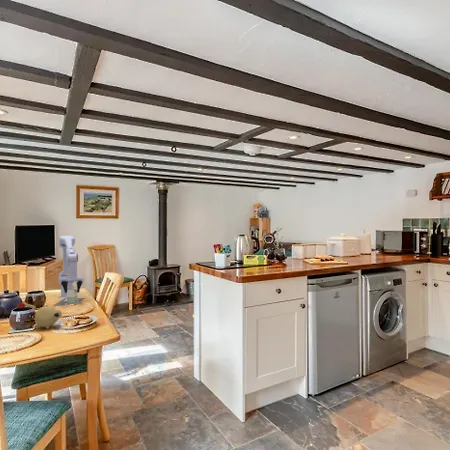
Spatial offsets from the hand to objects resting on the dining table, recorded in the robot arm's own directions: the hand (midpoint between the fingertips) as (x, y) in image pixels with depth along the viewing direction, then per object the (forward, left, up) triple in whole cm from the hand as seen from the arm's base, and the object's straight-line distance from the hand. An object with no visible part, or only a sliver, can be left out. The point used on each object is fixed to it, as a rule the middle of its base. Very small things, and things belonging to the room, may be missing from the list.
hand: (72, 292), depth 206 cm
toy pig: (+48, +6, -8) cm, 49 cm away
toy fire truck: (+36, -8, -8) cm, 38 cm away
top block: (0, 0, -2) cm, 2 cm away
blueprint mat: (-4, -3, -7) cm, 9 cm away
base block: (0, 0, -7) cm, 7 cm away
